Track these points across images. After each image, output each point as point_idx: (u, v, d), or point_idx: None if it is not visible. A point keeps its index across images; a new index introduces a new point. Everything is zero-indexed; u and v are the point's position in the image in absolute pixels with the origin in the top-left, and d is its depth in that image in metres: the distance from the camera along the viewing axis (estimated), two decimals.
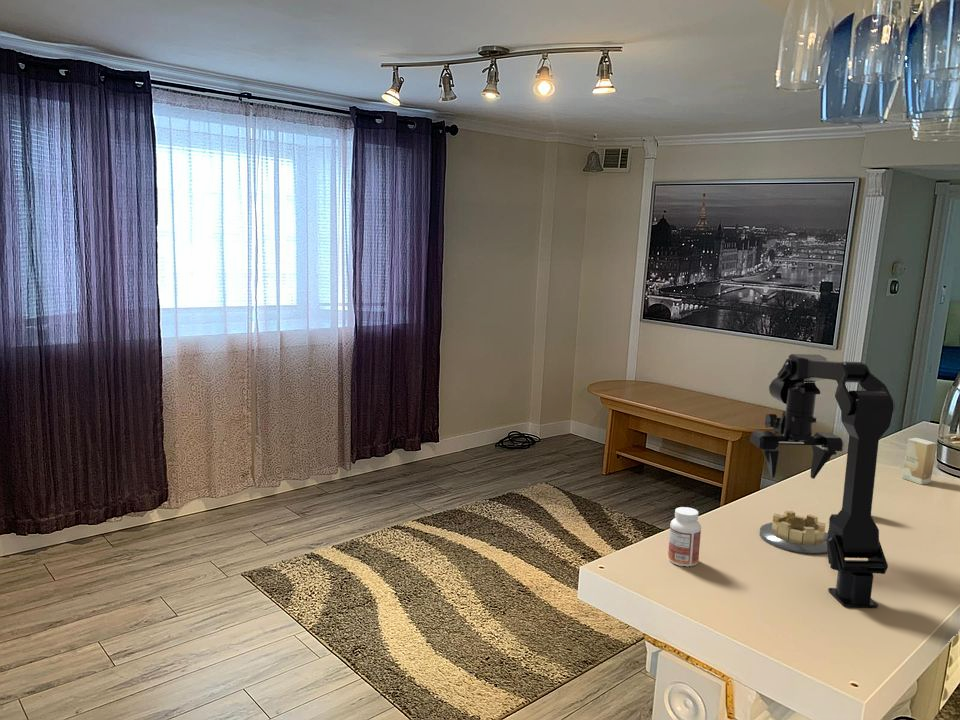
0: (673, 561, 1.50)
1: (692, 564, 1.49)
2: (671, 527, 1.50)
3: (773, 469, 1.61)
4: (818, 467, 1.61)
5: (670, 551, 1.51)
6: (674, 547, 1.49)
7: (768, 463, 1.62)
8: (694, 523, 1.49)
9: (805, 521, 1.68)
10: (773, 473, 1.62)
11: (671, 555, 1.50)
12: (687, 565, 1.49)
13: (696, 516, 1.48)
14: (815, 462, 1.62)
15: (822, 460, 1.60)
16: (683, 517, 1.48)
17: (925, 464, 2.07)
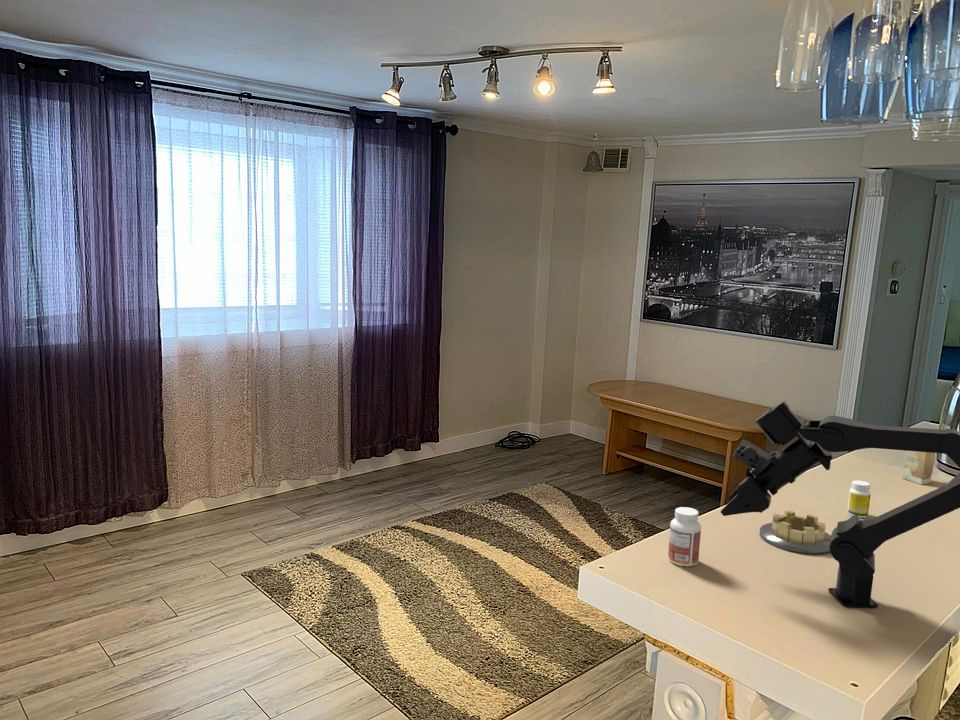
0: (673, 561, 1.50)
1: (692, 564, 1.49)
2: (671, 527, 1.50)
3: None
4: None
5: (670, 551, 1.51)
6: (674, 547, 1.49)
7: (733, 506, 1.40)
8: (694, 523, 1.49)
9: (805, 521, 1.68)
10: None
11: (671, 555, 1.50)
12: (687, 565, 1.49)
13: (696, 516, 1.48)
14: None
15: None
16: (683, 517, 1.48)
17: (925, 464, 2.07)
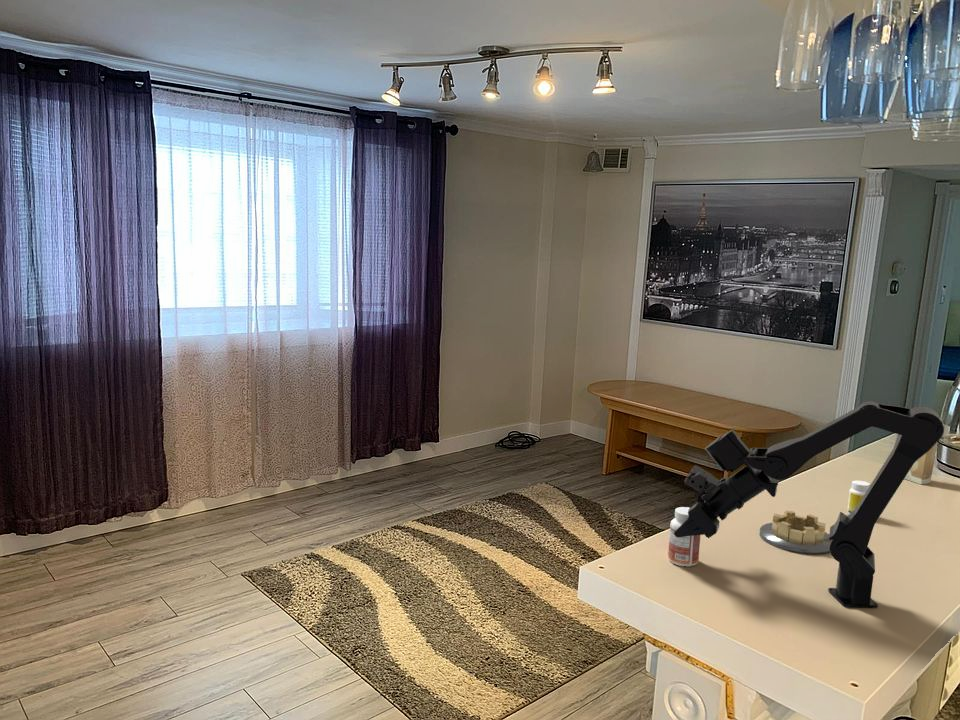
0: (673, 561, 1.50)
1: (692, 564, 1.49)
2: (671, 527, 1.50)
3: None
4: None
5: (670, 551, 1.51)
6: (674, 547, 1.49)
7: (685, 528, 1.46)
8: None
9: (805, 521, 1.68)
10: None
11: (671, 555, 1.50)
12: (687, 565, 1.49)
13: None
14: None
15: None
16: (683, 517, 1.48)
17: (925, 464, 2.07)
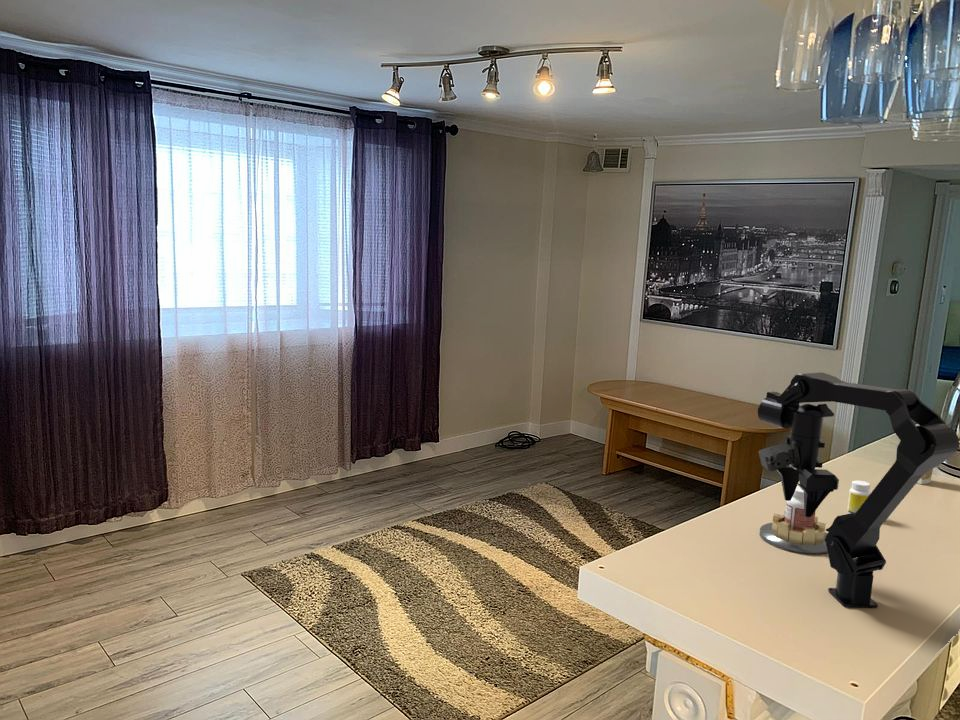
0: None
1: None
2: None
3: None
4: None
5: None
6: None
7: (811, 503, 1.42)
8: (800, 500, 1.62)
9: None
10: None
11: None
12: None
13: (802, 494, 1.61)
14: (789, 482, 1.52)
15: None
16: None
17: None
